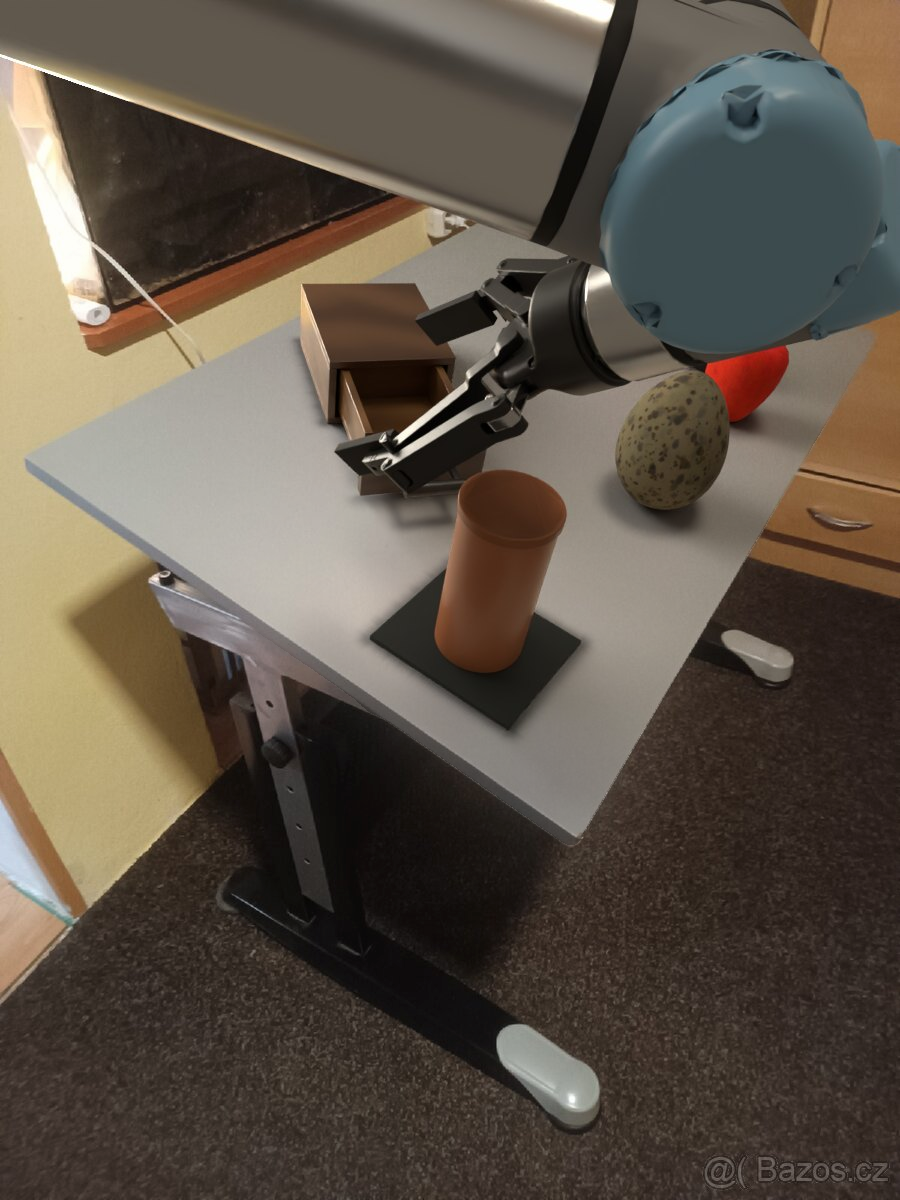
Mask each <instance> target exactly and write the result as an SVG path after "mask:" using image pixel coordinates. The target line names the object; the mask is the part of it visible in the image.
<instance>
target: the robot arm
mask: <svg viewBox="0 0 900 1200" xmlns="http://www.w3.org/2000/svg"><path fill="white" fill-rule="evenodd" d="M0 57H2V58H4V59H8V60H10V61H12V62H16V63H18V64H21V65H25V66H28V67H30V68H33V69H36V70H39V71H42V72H45V73H47V74H50V75H53V76H56V77H59V78H62V79H65V80H68V81H71V82H73V83H76V84H79V85H82V86H85V87H88V88H91V89H93V90H96V91H99V92H101V93H105V94H107V95H110V96H113V97H116V98H119V99H122V100H125V101H128V102H130V103H133V104H135V105H139V106H142V107H145V108H148V109H151V110H153V111H155V112H159V113H162V114H165V115H168V116H170V117H174V118H176V119H179V120H182V121H184V122H188V123H189V124H193V125H197V126H199V127H202V128H205V129H207V130H211V131H213V132H216V133H219V134H221V135H225V136H227V137H230V138H233V139H236V140H238V141H242V142H245V143H247V144H251V145H253V146H257V147H258V148H262V149H265V150H268V151H271V152H273V153H275V154H278V155H281V156H284V157H288V158H291V159H294V160H296V161H299V162H302V163H305V164H307V165H310V166H313V167H316V168H319V169H321V170H325V171H328V172H330V173H333V174H336V175H339V176H341V177H345V178H347V179H350V180H353V181H355V182H359V183H361V184H365V185H368V186H370V187H372V188H376V189H379V190H381V191H385V192H387V193H389V194H393V195H396V196H399V197H402V198H405V199H407V200H410V201H413V202H416V203H419V204H422V205H425V206H427V207H430V208H433V209H436V210H438V211H441V212H444V213H448V214H451V215H453V216H457V217H459V218H461V219H464V220H467V221H470V222H473V223H476V224H479V225H481V226H485V227H488V228H491V229H493V230H496V231H499V232H501V233H505V234H507V235H510V236H512V237H515V238H519V239H521V240H525V241H527V242H530V243H533V244H535V245H539V246H542V247H545V248H547V249H550V250H551V251H554V252H558V253H559V254H563V255H565V256H563V257H560V258H517V257H516V258H513V257H512V258H511V257H510V258H509V257H508V258H505V259H502V260H500V262H499V263H498V265H496V268H495V270H496V272H497V274H498V275H497V276H496V277H495V278H494V277H489V278H488V279H486V280H484V282H483V283H482V284H481V285H480V287H479V289H478V290H477V289H476V290H472V291H471V292H468V293H466V294H464V295H460V296H459V297H456V298H454V299H452V300H450V301H447V302H445V303H443V304H440V305H437V306H435V307H433V308H431V309H430V308H429V310H428V311H426V312H423V313H421V314H419V315H418V317H417V318H416V320H415V322H416V323H417V324H418V325H419V326H420V328H421V329H422V330H423V331H424V332H425V333H426V335H427V336H428V337H429V338H430V339H431V340H432V342H433V343H434V344H435V345H436V346H438V345H441V344H444V343H446V342H448V343H450V342H452V341H454V340H457V339H460V338H464V337H466V336H468V335H471V334H474V333H476V332H479V331H482V330H484V329H486V328H490V327H492V326H495V324H496V322H497V321H498V316H497V315H496V314H495V311H497V313H498V314H499V315H500V317H501V318H502V320H503V321H505V323H506V322H509V323H508V324H507V325H506V326H505V327H502V328H501V330H500V332H499V334H498V336H497V338H496V342H495V344H494V345H493V347H492V348H491V350H490V351H488V353H487V354H486V355H484V356H483V357H482V358H480V360H478V361H477V362H476V363H474V364H473V365H472V366H471V367H469V368H468V369H467V371H466V372H465V380H464V382H463V383H462V384H460V385H458V387H456V388H454V391H453V392H451V393H450V394H449V395H448V396H446V397H445V398H444V399H443V400H441V401H440V402H439V403H438V404H436V405H435V406H434V407H433V408H431V409H430V410H429V411H428V412H426V413H425V414H424V415H423V416H421V417H420V418H419V419H418V420H416V421H415V422H414V423H413V424H411V425H410V426H409V427H408V428H406V429H405V430H404V431H403V432H401V433H400V434H399V433H398V432H397V431H396V430H395V429H392V430H388V431H384V432H381V433H377V434H373V435H370V436H366V437H362V438H359V439H355V440H351V441H349V440H348V441H344V442H341V443H338V444H337V446H336V448H335V449H334V451H333V452H334V453H335V455H336V456H338V458H339V459H340V460H342V461H343V462H344V463H345V464H346V465H347V466H348V467H349V468H350V469H351V470H352V471H353V472H354V473H355V474H356V475H357V476H362V475H366V474H371V473H374V474H375V475H378V476H380V475H383V474H384V475H385V474H386V475H387V476H388V477H389V478H390V479H391V480H392V481H393V482H394V483H395V484H396V485H397V486H398V487H399V488H400V489H402V490H403V491H404V492H405V493H406V494H410V493H412V492H414V491H415V490H417V489H419V488H420V487H422V486H424V485H426V484H427V483H429V482H431V481H432V480H434V479H436V478H438V477H439V476H441V475H443V474H444V473H446V472H448V471H449V470H451V469H453V468H455V467H456V466H458V465H460V464H461V463H463V462H465V461H467V460H468V459H470V458H472V457H473V456H475V455H477V454H479V453H480V452H482V451H484V450H485V449H489V448H490V447H492V446H494V445H496V444H498V443H501V442H504V441H507V440H510V439H513V438H516V437H519V436H522V434H524V433H525V432H526V431H527V430H528V428H529V425H530V424H529V421H528V420H527V418H525V417H524V416H523V414H522V412H523V410H524V408H525V406H526V403H527V401H530V400H532V399H534V398H536V397H537V396H538V395H540V394H542V393H544V392H545V391H548V390H552V391H557V392H560V393H564V394H568V395H570V396H578V397H581V396H582V397H583V396H589V395H592V394H596V393H600V392H603V391H607V390H612V389H616V388H620V387H623V386H626V385H629V384H631V383H632V382H640V381H644V380H648V379H652V378H656V377H660V376H663V375H668V374H671V373H674V372H679V371H682V370H686V369H690V368H693V367H694V366H701V365H704V364H708V363H714V362H718V361H722V360H726V359H730V358H735V357H739V356H743V355H747V354H751V353H755V352H760V351H764V350H768V349H773V348H777V347H781V346H786V347H787V346H790V345H793V344H799V343H803V342H807V341H811V340H814V341H816V342H817V341H822V340H824V339H826V338H828V337H829V336H831V335H832V336H833V335H835V334H838V333H841V332H844V331H848V330H852V329H855V328H858V327H862V326H864V325H868V324H870V323H872V322H874V321H877V320H880V319H882V318H886V317H888V316H892V315H894V314H895V313H898V312H899V311H900V145H899V144H897V142H895V141H893V140H890V139H882V138H880V139H875V138H874V136H873V134H872V132H871V129H870V127H869V122H868V116H867V113H866V109H865V104H864V102H863V100H862V97H861V95H860V92H859V91H858V90H857V89H856V88H855V87H854V86H852V84H851V83H849V81H847V79H845V77H844V72H842V71H841V70H840V69H838V68H836V66H833V65H832V64H831V63H829V62H828V61H827V60H826V59H825V57H824V56H823V55H822V54H821V52H819V50H818V49H817V48H816V47H815V46H814V44H813V42H811V41H810V39H809V38H808V36H806V34H805V33H804V31H803V30H802V29H801V27H800V25H798V23H797V22H796V20H795V19H794V18H793V16H792V15H791V13H790V12H789V11H788V10H787V8H786V7H785V5H784V4H783V2H781V0H0ZM530 298H531V299H530ZM486 375H489V377H491V379H492V380H493V381H494V382H495V383H496V385H497V386H498V387H499V388H500V389H502V390H503V391H504V392H505V393H499V394H495V392H494V391H493V390H492V389H491V387H490V386H489V385H488V384H487V383H486V382H485V380H484V379H483V378H484V377H485V376H486Z"/></svg>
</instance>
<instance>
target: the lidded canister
mask: <svg viewBox="0 0 900 1200" xmlns="http://www.w3.org/2000/svg"><path fill="white" fill-rule="evenodd" d="M456 511H457V514H456V519H455V524H454V530H453V535H452V538H451V539H452V540H451V544H450V550H449V555H448V561H447V566H446V568H447V570H446V575H445V580H444V585H443V591H442V596H441V601H440V606H439V611H438V616H437V621H436V627H435V641H436V644H437V646H438V648H439V650H440V652H441V653H442V654H443V655H444V656H445V657H446V658H447V659H448V660H449V661H450V662H452V663H453V664H455V665H456V666H458V667H460V668H462V669H465V670H468V671H472V672H478V673H492V672H497V671H500V670H503V669H505V668H507V667H509V666H510V665H512V664H513V663H514V662H515V661H516V660H517V659H518V657H519V656H520V653H521V651H522V648H523V645H524V641H525V638H526V635H527V632H528V629H529V626H530V623H531V619H532V616H533V613H534V612H535V610H536V606H537V604H538V600H539V598H540V594H541V591H542V588H543V585H544V582H545V579H546V575H547V572H548V569H549V566H550V563H551V560H552V556H553V553H554V550H555V546H556V544H557V541H558V537H559V536H560V535H561V533H562V532H563V530H564V528H565V526H566V525H565V524H566V521H567V517H568V512H567V506H566V503H565V501H564V500H563V498H562V496H561V495H560V493H558V491H557V490H556V489H555V488H554V487H552V486H551V485H550V484H549V483H547V482H545V481H544V480H542V479H540V478H539V477H537V476H534V475H531V474H529V473H526V472H523V471H518V470H512V469H489V470H484V471H482V472H481V473H478V474H476V475H474V476H472V477H470V478H469V479H468V480H467V481H465V483H464V484H463V485H462V487H461V488H460V491H459V493H457V500H456Z"/></svg>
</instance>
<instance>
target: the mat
mask: <svg viewBox="0 0 900 1200" xmlns="http://www.w3.org/2000/svg"><path fill="white" fill-rule="evenodd" d="M446 570H447V567H445V569H443V570H442V571H441V572H440V573H439V574H438V575H436V576H435V577H434V578H433V579H432V580H431V581H429V583H427V584H426V585H425V586H424V587H423V588H421V590H420V591H418V592H417V593H416V594H415V595H414V596H413V597H412V598H410V599H409V600H408V601H407V602H406V603H405V604H404V605H403V606H401V607H400V608H399V609H398V610H397V611H396V612H395V613H394V614H392V615H391V616H390V617H389V618H388V619H387V620H386V621H385V622H384V623H382V624H381V625H380V626H378V628H377V629H376V630H374V631H373V632H372V633H371V634H370V635H369V640H370V641H371V642H373V643H375V644H376V645H378V646H380V647H381V648H382V649H384V650H385V651H387V652H388V653H390V654H391V655H393V656H395V657H396V658H398V659H399V660H400V661H402V662H403V663H404V664H406V665H408V666H409V667H411V668H412V669H414V670H415V671H417V672H418V673H420V674H421V675H423V676H425V677H426V678H427V679H429V680H430V681H432V682H434V683H435V684H436V685H438V686H440V687H441V688H443V689H444V690H446V691H447V692H449V693H450V694H452V695H453V696H454V697H456V698H457V699H459V700H461V701H462V702H464V703H465V704H466V705H468V706H469V707H471V708H472V709H474V710H476V711H477V712H479V713H481V715H484V716H485V717H487V718H488V719H489V720H490V721H492V722H494V723H496V724H497V725H498V726H500V727H502V728H503V729H505V730H506V731H509V730H510V728H511V727H512V726H513V725H514V723H516V721H517V720H518V719H519V718H520V717H521V715H522V714H523V713H524V712H525V711H526V709H527V708H528V707H529V706H530V705H531V703H533V701H534V700H535V699H536V697H537V696H538V695H539V694H540V693H541V691H542V690H543V689H545V687H546V686H547V685H548V683H549V682H550V681H551V680H552V679H553V677H555V675H556V674H557V672H558V671H559V670H560V669H561V668H562V667H563V666H564V664H565V663H566V662H567V661H568V659H569V658H570V657H571V656H572V655H573V653H575V651H576V650H577V649H578V648H579V647H580V645H581V643H582V639H579V638H578V637H577V636H575V635H573V634H571V633H570V632H568V631H566V630H564V628H561V627H559V626H558V625H556V624H555V623H553V622H551V620H548V619H546V618H545V617H543V616H541V615H540V614H538V613H536V612H535V611H534V613H533V616H532V619H531V623H530V626H529V629H528V632H527V635H526V638H525V641H524V645H523V648H522V651H521V653H520V656H519V657H518V659H517V660H516V661H515V662H514V663H513V664H512V665H510V666H509V667H507V668H505V669H503V670H500V671H497V672H492V673H478V672H472V671H468V670H465V669H462V668H460V667H458V666H456V665H455V664H453V663H452V662H450V661H449V660H448V659H447V658H446V657H445V656H444V655H443V654H442V653H441V652H440V650H439V648H438V646H437V644H436V641H435V627H436V621H437V616H438V611H439V606H440V601H441V596H442V591H443V585H444V580H445V575H446Z"/></svg>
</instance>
